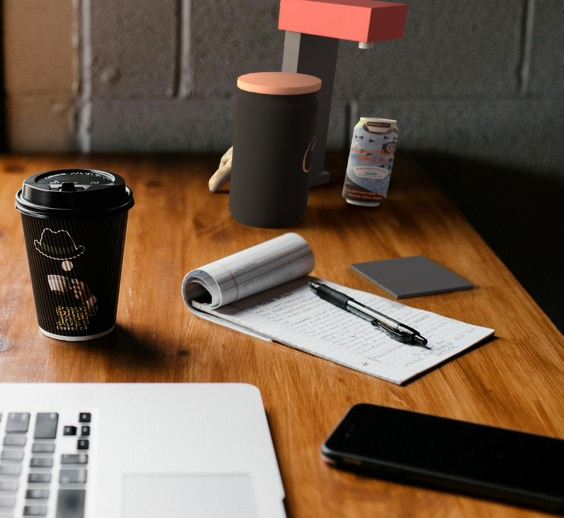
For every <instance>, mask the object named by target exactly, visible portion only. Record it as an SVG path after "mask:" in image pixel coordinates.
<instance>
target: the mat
mask: <svg viewBox="0 0 564 518" xmlns="http://www.w3.org/2000/svg"><path fill="white" fill-rule="evenodd" d="M348 267H349V268H350V269H352V270H353V271H354V272H355V273H357V274H359V275H361V276H362V277H364V278H365V279H367V280H368V281H369V282H370V283H372V284H374V285H376V286H377V287H378V288H380V289H381V290H383V291H385V292H386V293H388V294H389V295H391V296H392V297H394V298H395V299H396V300H400V299H406V298H412V297H418V296H419V297H420V296H425V295H434V294H441V293H446V292H447V293H448V292H454V291H461V290H462V291H463V290H469V289H474V286H475V284H473V283H472V282H470V281H468V280H467V279H465V278H463V277H461V276H459V275H458V274H456V273H454V272H452V271H451V270H449V269H447V268H445V267H443V266H442V265H440V264H438V263H436V262H435V261H433V260H431V259H429V258H427V257H426V256H424V255H422V254H419V255H411V256H403V257H394V258H388V259H381V260H380V259H379V260H371V261H363V262H356V263H350V264H349V266H348Z"/></svg>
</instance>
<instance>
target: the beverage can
mask: <svg viewBox="0 0 564 518" xmlns="http://www.w3.org/2000/svg"><path fill="white" fill-rule="evenodd" d="M397 123H398V121H397V120H395V119H388V118H379V117H369V116H368V117H365V116H361V117H360V120H358V122H357V124H356V125H355V126H354V129H353V134H352V138H351V145H350V151H349V155H348V161H347V167H346V171H345V172H346V173H345V178H344V182H343V190H342V193H341V194H342V195H341V196H342V198H344V199H346V203H349V204H350V205H355V206H364V207H379V206H380V204H381V203H382V204H383V203H385V202H386V199H387V195H388V190H389V185H390V180H391V174H392V170H393V165H394V160H395V155H396V150H397V145H398V140H399V136H400V135H399V134H400V130H399V128H398V124H397Z"/></svg>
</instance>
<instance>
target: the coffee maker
mask: <svg viewBox="0 0 564 518" xmlns="http://www.w3.org/2000/svg"><path fill="white" fill-rule="evenodd" d="M408 9H409V4H408V3H407V4H406V3H398V2H388V1H380V0H280V5H279V13H278V14H279V15H278V25H277V29H278V30H281V31H285V33H284V45H283V54H282V55H283V56H282V65H281V72H288V73H299V74H305V75H310V76H314V77H317V78H319V79H321V82H322V84H321V89H319V91H318V92H317V93H316V96H317V97H318V99H319V110H318V119H317V127H316V136H315V144H314V153H313V161H312V170H311V178H310V186H309V188H311V187H316V186H320V185H325V184H329V183H330V178H331V177H330V176H331V173H330V172H328V171H325V170H324V166H325V157H326V149H327V141H328V132H329V124H330V117H331V111H332V110H331V109H332V101H333V92H334V86H335V78H336V77H335V76H336V68H337V61H338V54H339V53H338V52H339V44H340V40H344V41H345V40H346V41H352V42H358V48H359V49H363V50H364V49H365V50H366V49H367V50H370V49H373V48H374V43H376V42H383V41H385V42H386V41H394V40H400V39H403V38H404V34H405V27H406V21H407V15H408Z"/></svg>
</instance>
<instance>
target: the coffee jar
mask: <svg viewBox="0 0 564 518" xmlns="http://www.w3.org/2000/svg"><path fill="white" fill-rule="evenodd" d="M321 84H322V82H321V79H319V78H317V77H314V76H310V75H305V74H299V73H288V72H282V71H263V72H262V71H261V72H250V73H246V74H243V75H240V76H238V77H237V87H238V90H239V91H240V92H239V94H238V95H237V96H236V100H235V108H234V109H235V110H234V123H233V136H232V137H233V138H232V146H233V150H232V165H231V179H230V180H229V181H230V182H229V193H228V195H229V197H228V211H229V212H230V214H231V217H232V218H233V219H234V220H235V222H237V223H239V224H241V225H245V226H249V227H252V228H253V227H254V228H260V229H261V228H262V229H283V228H289V227H292V226H295V225H297V224H298V223H300V222H301V220H302V219H303V217H305V216H306V214H307V211H308V201H309V195H310V187H309V186H310V178H311V170H312V161H313V153H314V144H315V136H316V127H317V119H318V110H319V99H318V97H317V96H316V93H317V92H318V91H319V89H321Z"/></svg>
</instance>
